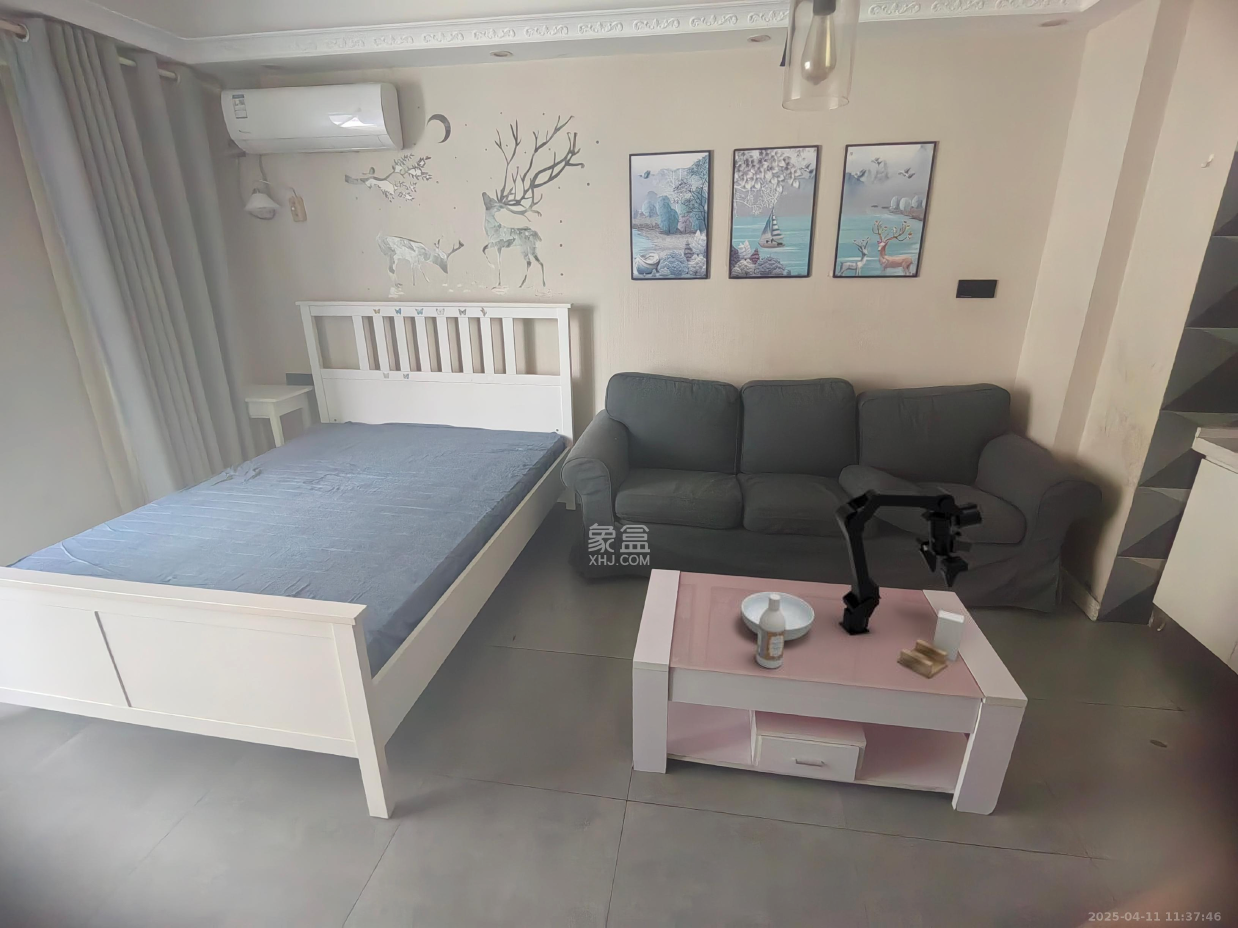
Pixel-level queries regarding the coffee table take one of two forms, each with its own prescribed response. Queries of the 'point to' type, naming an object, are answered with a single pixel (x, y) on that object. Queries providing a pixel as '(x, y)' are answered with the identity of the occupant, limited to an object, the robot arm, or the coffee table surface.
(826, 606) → the coffee table surface
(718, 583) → the coffee table surface
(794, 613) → the serving bowl
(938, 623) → the white rectangular box
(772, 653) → the bath foam
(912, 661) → the slot holder
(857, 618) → the robot arm
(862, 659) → the coffee table surface
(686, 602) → the coffee table surface
